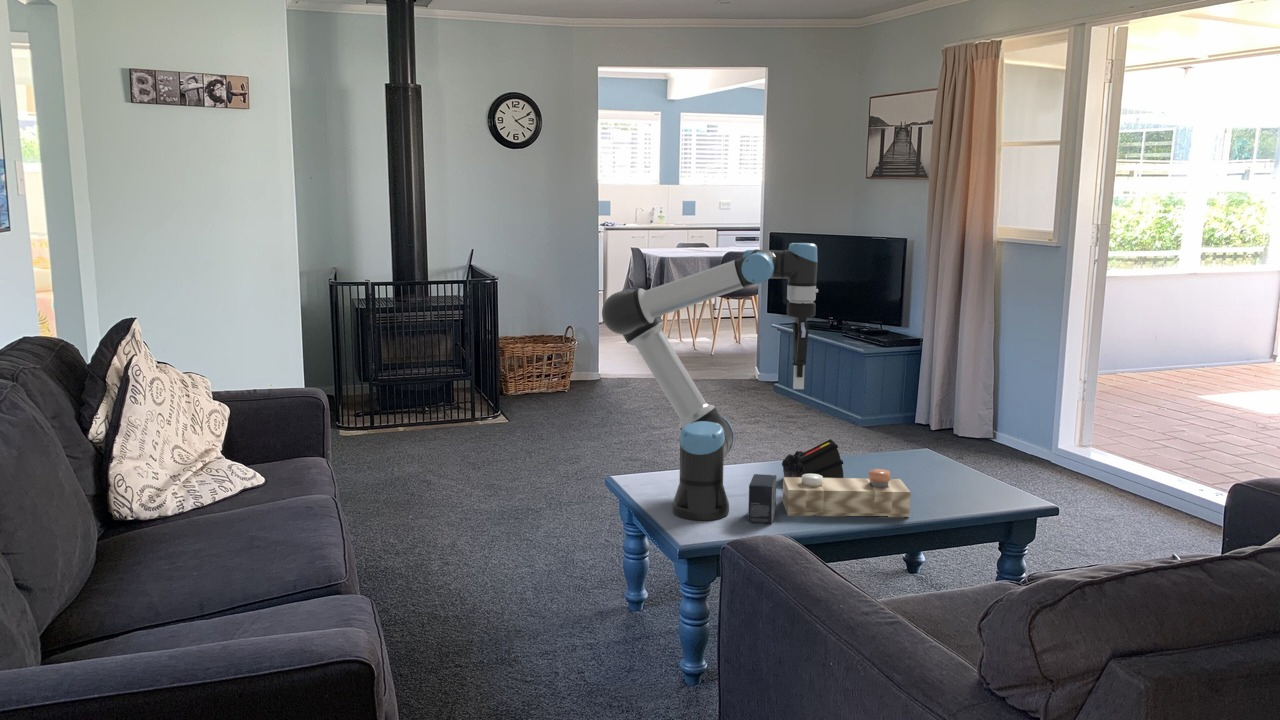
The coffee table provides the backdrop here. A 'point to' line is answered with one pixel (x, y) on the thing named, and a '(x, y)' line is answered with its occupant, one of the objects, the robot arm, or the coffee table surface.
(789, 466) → the black rock
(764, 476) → the small box
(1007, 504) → the coffee table surface
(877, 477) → the terracotta plunger
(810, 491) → the block
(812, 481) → the pale plunger
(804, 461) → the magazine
